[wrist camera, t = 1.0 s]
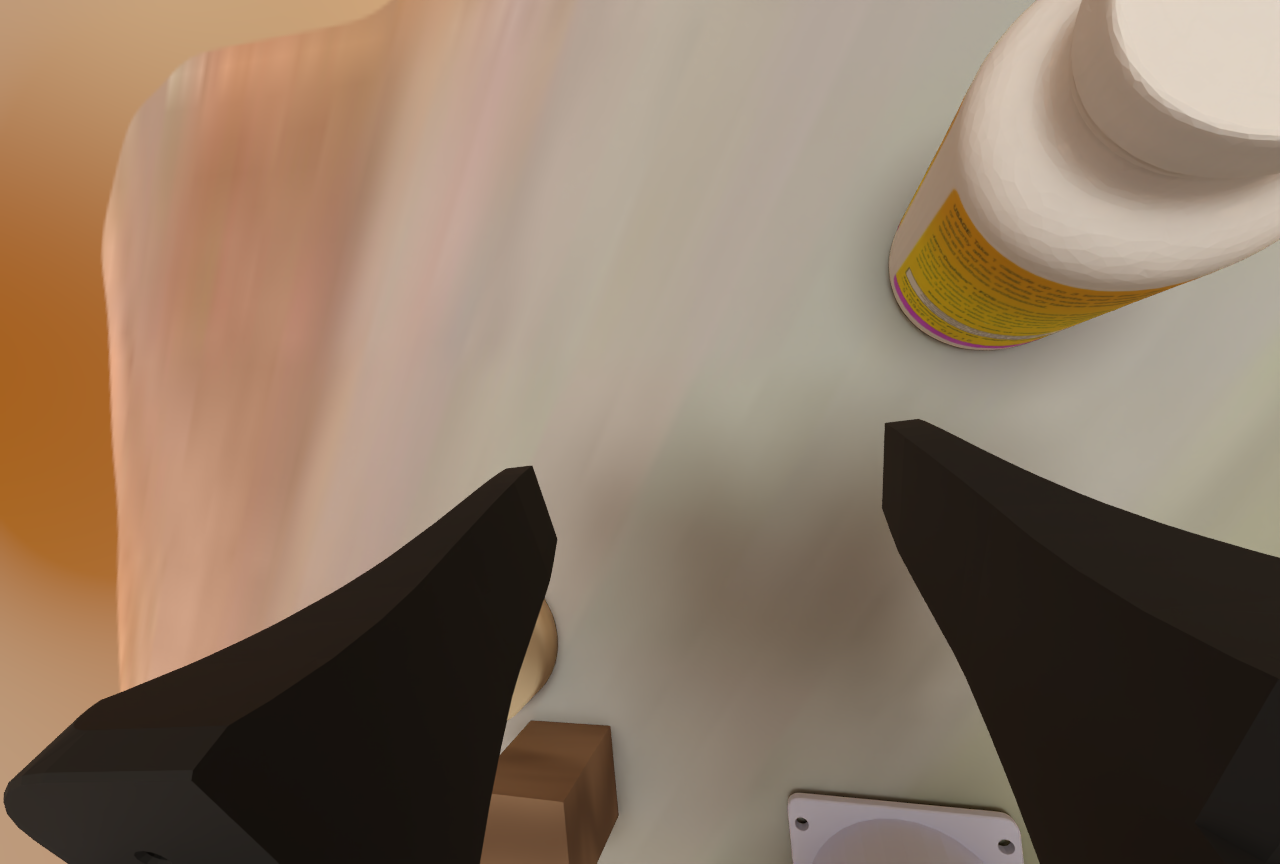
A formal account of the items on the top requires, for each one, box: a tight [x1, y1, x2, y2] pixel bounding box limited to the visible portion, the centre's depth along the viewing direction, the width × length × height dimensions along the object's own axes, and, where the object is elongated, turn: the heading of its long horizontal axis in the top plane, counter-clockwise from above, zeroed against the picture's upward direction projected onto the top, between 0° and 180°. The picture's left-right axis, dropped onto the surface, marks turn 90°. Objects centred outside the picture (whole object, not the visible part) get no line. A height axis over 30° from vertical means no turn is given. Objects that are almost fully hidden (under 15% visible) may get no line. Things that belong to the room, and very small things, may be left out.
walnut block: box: [480, 721, 619, 864], centre depth 22 cm, size 4×4×5 cm
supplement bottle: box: [889, 0, 1280, 350], centre depth 13 cm, size 7×7×13 cm
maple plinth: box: [507, 600, 558, 720], centre depth 24 cm, size 7×7×2 cm
